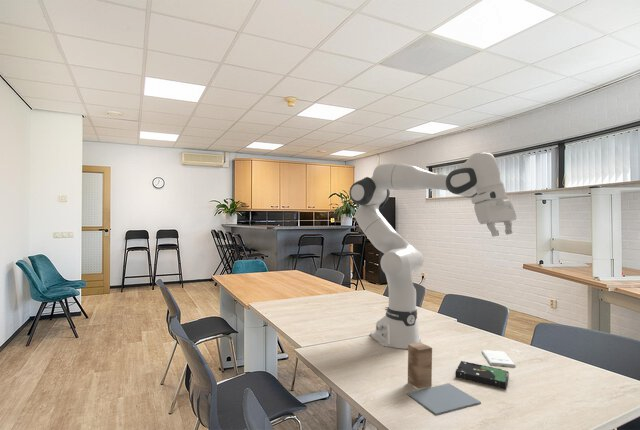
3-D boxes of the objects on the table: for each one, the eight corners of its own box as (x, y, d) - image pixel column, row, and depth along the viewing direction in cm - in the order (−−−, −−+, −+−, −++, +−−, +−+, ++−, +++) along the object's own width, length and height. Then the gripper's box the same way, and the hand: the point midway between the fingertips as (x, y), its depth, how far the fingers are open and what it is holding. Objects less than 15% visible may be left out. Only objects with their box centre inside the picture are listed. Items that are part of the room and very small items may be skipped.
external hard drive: (504, 355, 137) (515, 368, 124) (481, 353, 138) (490, 366, 126) (504, 351, 137) (515, 364, 124) (481, 349, 138) (490, 361, 126)
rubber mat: (406, 393, 104) (406, 392, 104) (449, 384, 110) (449, 383, 110) (435, 415, 93) (435, 413, 93) (480, 403, 99) (480, 401, 99)
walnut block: (407, 383, 110) (408, 344, 111) (420, 380, 112) (421, 342, 113) (418, 390, 106) (418, 350, 106) (431, 387, 108) (432, 347, 108)
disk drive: (455, 379, 115) (507, 391, 107) (455, 371, 115) (506, 382, 108) (460, 368, 124) (508, 378, 116) (460, 360, 124) (508, 369, 116)
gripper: (498, 198, 133) (508, 234, 131) (468, 199, 121) (478, 239, 119) (515, 193, 128) (525, 231, 126) (485, 193, 116) (496, 235, 114)
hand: (502, 235), depth 122 cm, fingers open, 8 cm apart
